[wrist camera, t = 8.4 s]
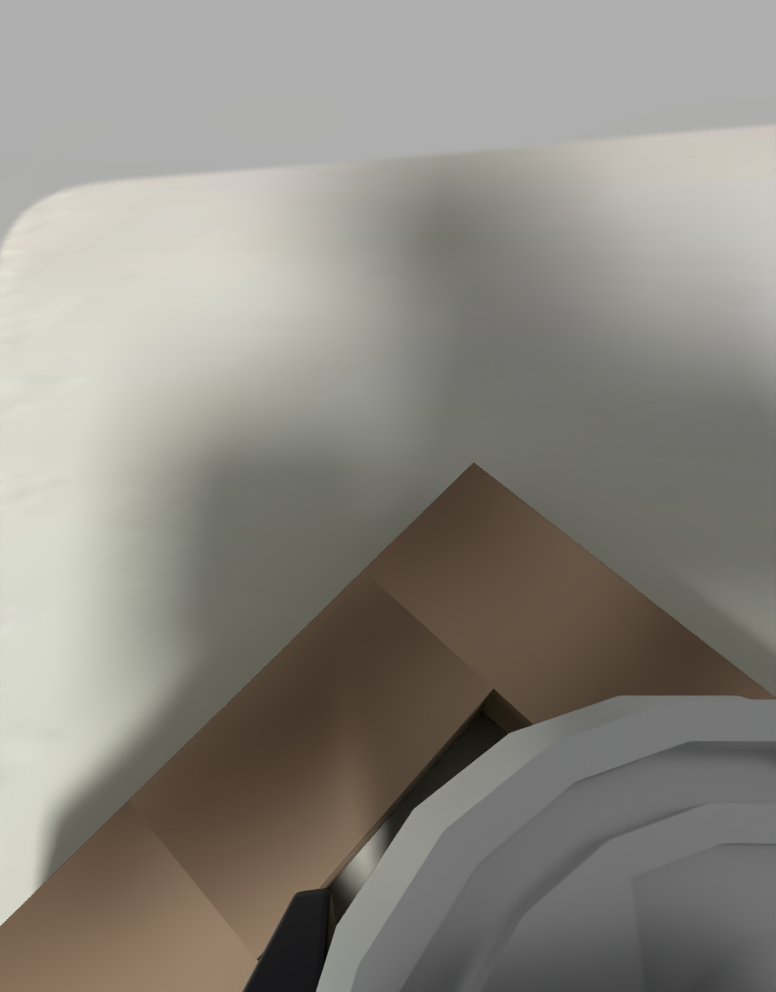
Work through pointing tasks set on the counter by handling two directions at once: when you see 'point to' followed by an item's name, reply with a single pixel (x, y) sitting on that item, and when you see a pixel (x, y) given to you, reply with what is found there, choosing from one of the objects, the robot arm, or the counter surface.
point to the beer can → (584, 861)
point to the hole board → (348, 743)
